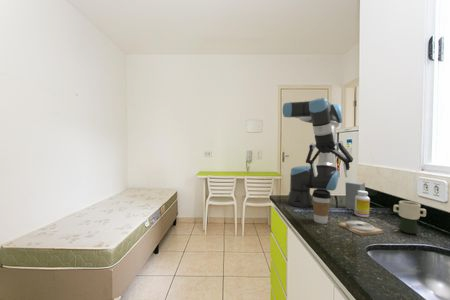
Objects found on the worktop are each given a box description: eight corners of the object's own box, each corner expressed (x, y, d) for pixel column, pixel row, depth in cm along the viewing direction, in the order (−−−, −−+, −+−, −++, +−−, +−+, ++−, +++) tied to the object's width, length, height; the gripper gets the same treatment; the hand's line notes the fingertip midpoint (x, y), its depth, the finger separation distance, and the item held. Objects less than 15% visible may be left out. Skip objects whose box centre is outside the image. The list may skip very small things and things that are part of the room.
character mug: (423, 232, 95) (425, 203, 94) (426, 238, 89) (428, 207, 88) (391, 226, 101) (393, 198, 100) (392, 231, 95) (394, 202, 95)
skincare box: (365, 210, 124) (366, 182, 124) (359, 212, 120) (360, 184, 120) (350, 206, 131) (351, 180, 131) (344, 208, 127) (345, 181, 127)
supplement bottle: (371, 218, 112) (372, 193, 111) (357, 216, 113) (358, 192, 113) (365, 213, 118) (367, 190, 118) (352, 212, 120) (353, 189, 119)
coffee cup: (329, 220, 108) (331, 190, 107) (330, 226, 100) (331, 193, 100) (311, 217, 112) (312, 188, 111) (310, 222, 104) (311, 191, 103)
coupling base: (338, 225, 102) (338, 221, 102) (358, 222, 105) (358, 218, 105) (361, 236, 90) (361, 231, 90) (382, 233, 94) (383, 228, 93)
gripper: (293, 138, 104) (302, 178, 109) (352, 132, 87) (359, 180, 92) (299, 133, 109) (307, 172, 114) (356, 127, 93) (362, 172, 98)
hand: (330, 175), depth 103 cm, fingers open, 13 cm apart
